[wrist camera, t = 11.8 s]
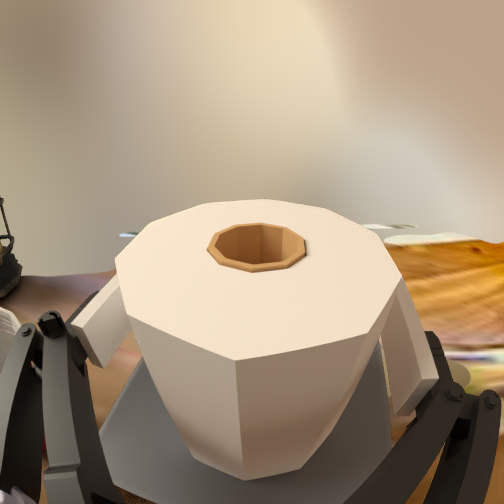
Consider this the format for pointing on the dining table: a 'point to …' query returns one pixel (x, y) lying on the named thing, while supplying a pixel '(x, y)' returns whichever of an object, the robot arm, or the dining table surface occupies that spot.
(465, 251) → the dining table surface
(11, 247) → the lantern
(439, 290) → the dining table surface
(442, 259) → the dining table surface
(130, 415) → the grey box
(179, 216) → the toilet paper
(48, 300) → the dining table surface
